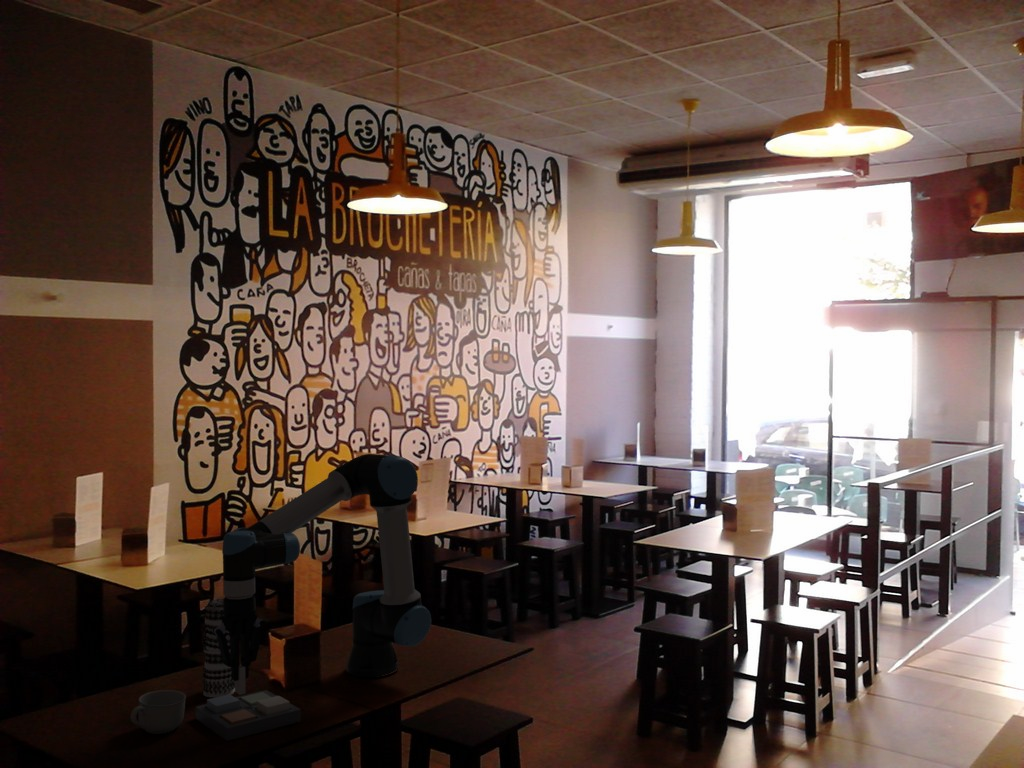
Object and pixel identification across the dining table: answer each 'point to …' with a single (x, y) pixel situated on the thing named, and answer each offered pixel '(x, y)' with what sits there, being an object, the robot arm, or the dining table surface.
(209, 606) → the decorative candle
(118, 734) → the dining table surface
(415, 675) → the dining table surface
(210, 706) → the blue key
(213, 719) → the keypad frame
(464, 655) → the dining table surface
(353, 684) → the dining table surface
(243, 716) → the terracotta key
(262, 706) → the cream key
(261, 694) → the sage key
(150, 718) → the teacup
